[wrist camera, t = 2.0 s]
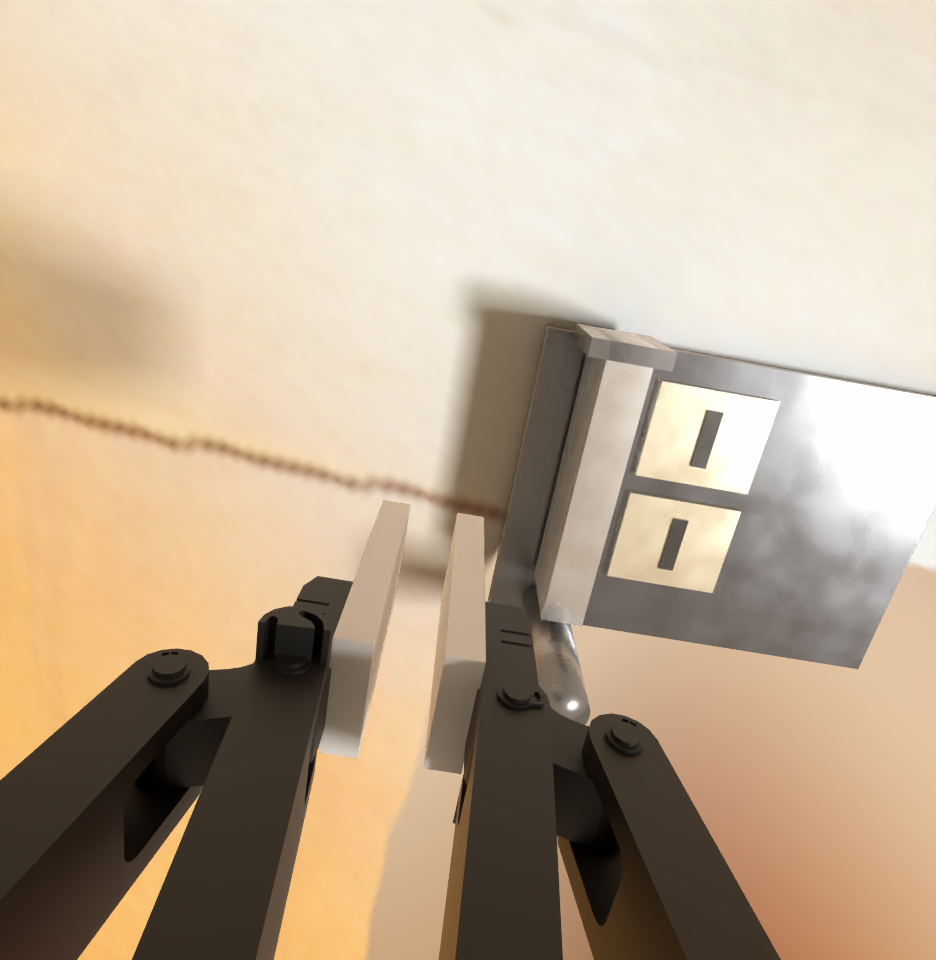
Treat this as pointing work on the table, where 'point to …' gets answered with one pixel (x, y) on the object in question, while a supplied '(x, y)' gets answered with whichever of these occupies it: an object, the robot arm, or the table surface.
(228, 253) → the table surface
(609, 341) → the brushed metal block
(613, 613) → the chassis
